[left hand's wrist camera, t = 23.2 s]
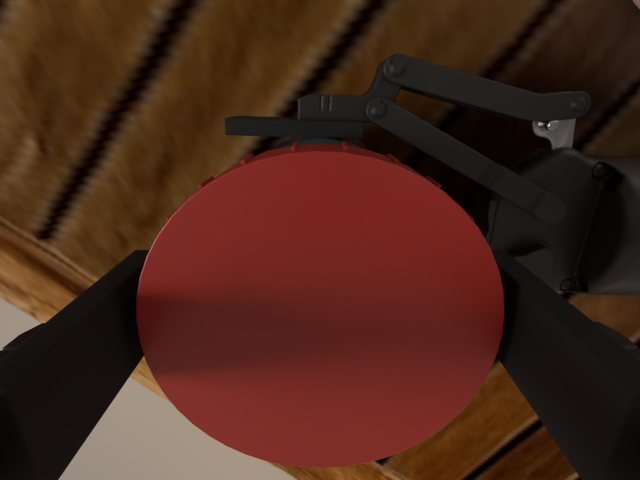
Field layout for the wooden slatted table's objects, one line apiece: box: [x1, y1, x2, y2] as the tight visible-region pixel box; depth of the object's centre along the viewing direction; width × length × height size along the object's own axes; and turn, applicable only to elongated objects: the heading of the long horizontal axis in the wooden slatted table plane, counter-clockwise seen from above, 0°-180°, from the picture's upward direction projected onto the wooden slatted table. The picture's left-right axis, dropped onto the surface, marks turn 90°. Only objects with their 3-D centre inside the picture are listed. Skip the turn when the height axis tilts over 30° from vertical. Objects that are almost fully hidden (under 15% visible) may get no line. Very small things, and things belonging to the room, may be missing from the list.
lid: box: [136, 142, 505, 468], centre depth 11 cm, size 10×10×2 cm
